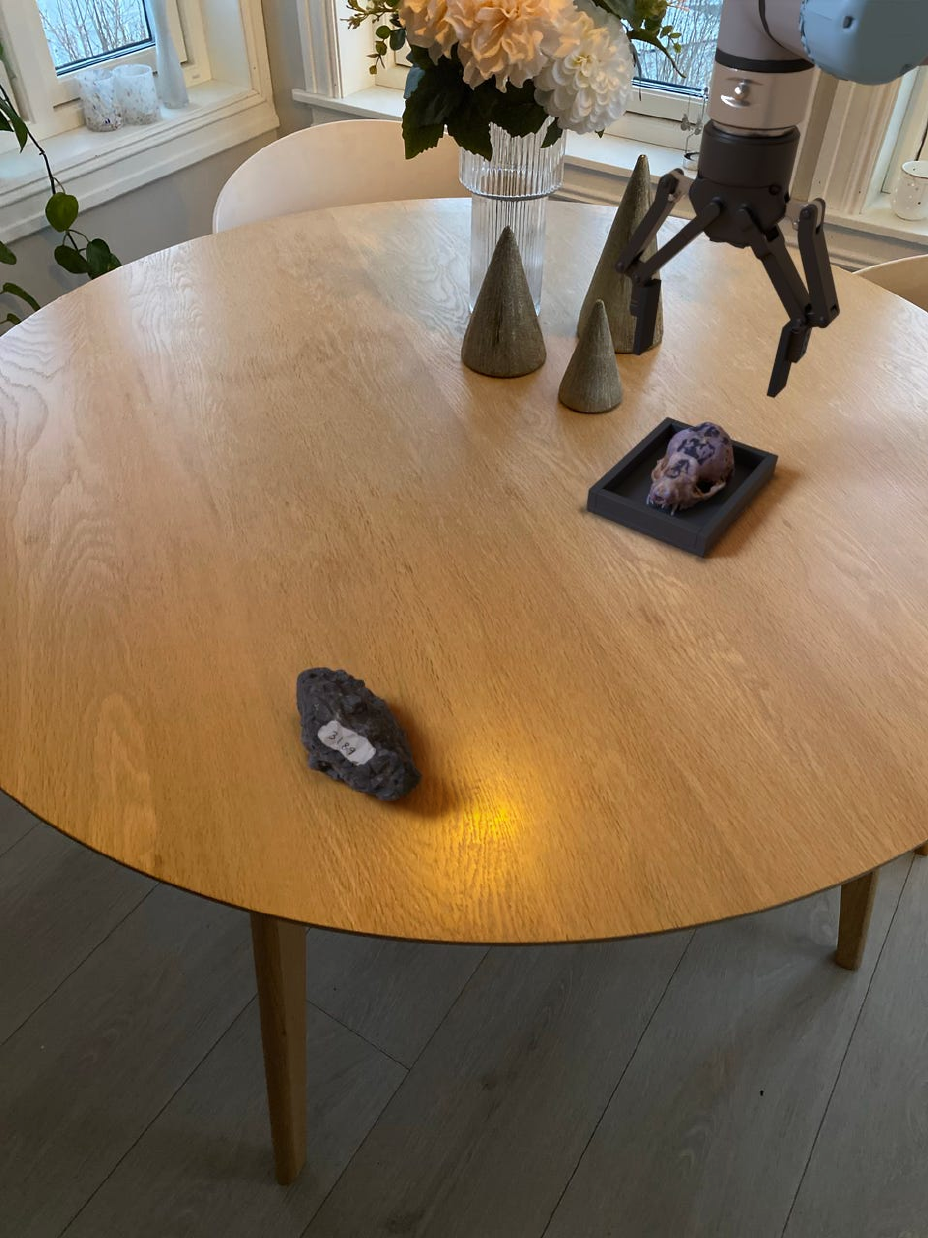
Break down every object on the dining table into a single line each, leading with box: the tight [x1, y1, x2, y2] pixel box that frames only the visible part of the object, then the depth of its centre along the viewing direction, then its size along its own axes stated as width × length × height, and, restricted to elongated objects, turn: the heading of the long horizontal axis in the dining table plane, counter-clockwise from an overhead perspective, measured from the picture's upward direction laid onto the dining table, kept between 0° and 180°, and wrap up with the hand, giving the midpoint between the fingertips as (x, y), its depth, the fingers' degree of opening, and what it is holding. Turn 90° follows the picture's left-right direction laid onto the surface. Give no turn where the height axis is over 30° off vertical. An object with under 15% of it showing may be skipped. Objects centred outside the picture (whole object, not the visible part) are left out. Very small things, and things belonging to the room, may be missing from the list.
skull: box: [647, 421, 735, 515], centre depth 97 cm, size 12×8×6 cm, turn 134°
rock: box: [295, 666, 424, 801], centre depth 73 cm, size 12×8×10 cm
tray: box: [586, 416, 779, 559], centre depth 99 cm, size 13×17×3 cm
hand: (707, 369), depth 90 cm, fingers open, 13 cm apart
